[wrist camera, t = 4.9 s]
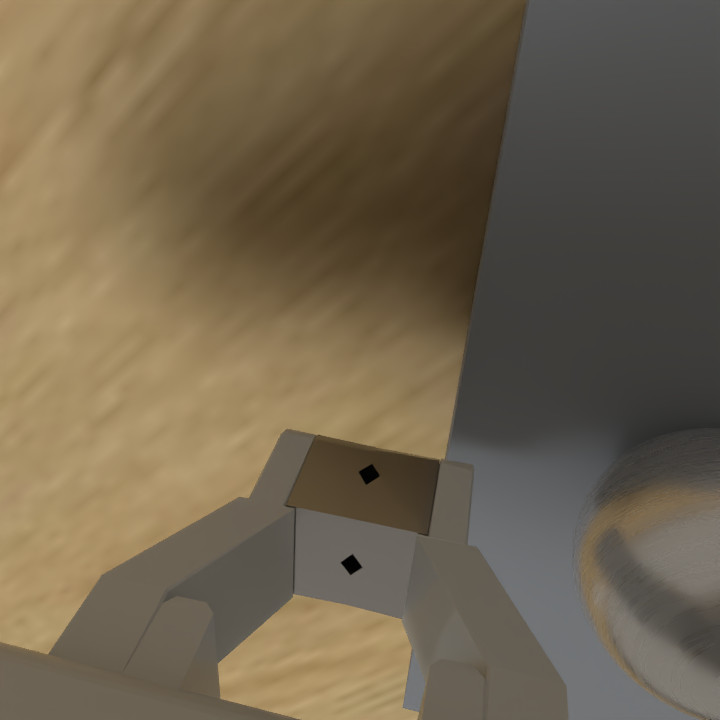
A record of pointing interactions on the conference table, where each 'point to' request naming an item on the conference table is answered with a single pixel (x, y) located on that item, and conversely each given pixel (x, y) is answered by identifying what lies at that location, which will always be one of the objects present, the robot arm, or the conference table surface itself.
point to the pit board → (590, 302)
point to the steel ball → (657, 567)
